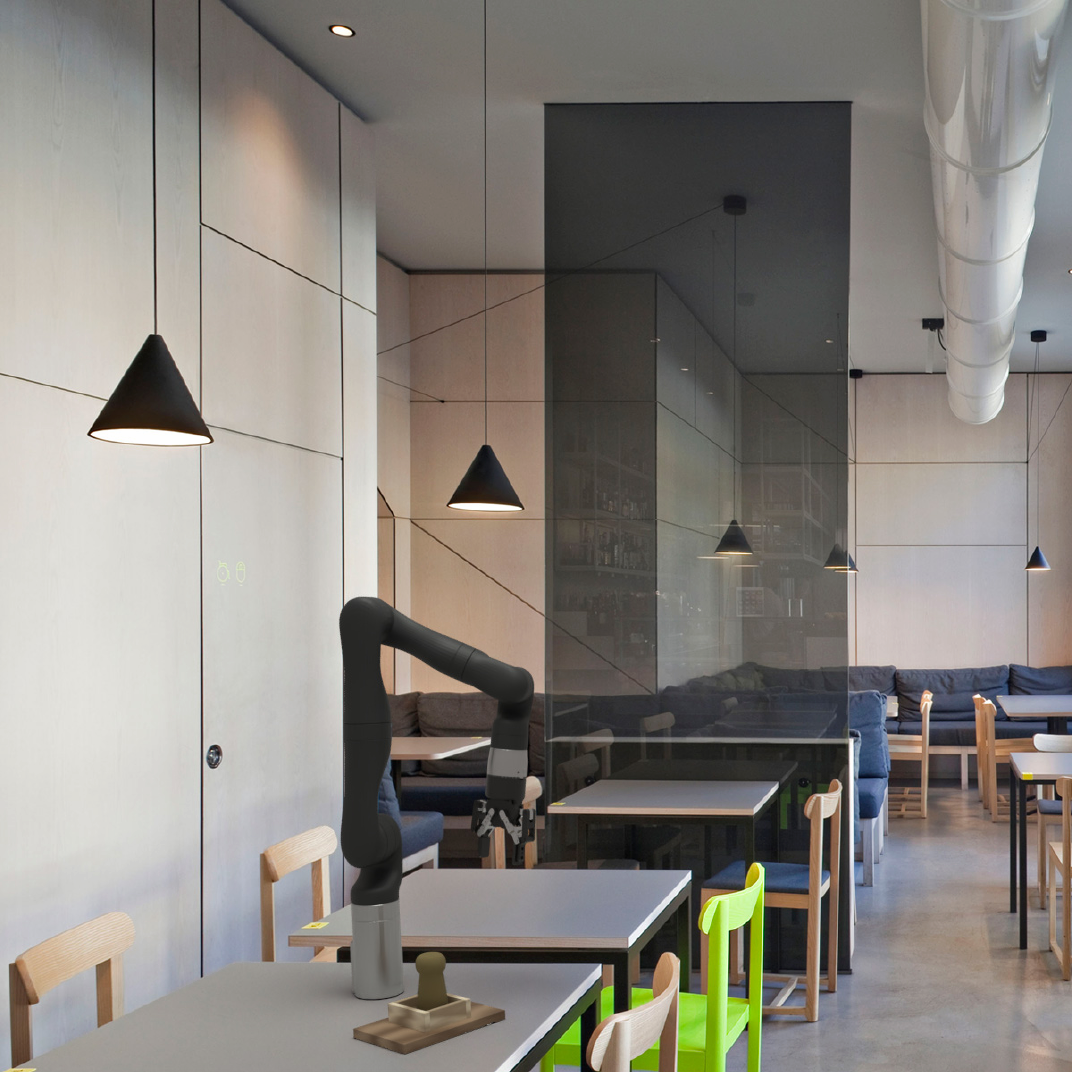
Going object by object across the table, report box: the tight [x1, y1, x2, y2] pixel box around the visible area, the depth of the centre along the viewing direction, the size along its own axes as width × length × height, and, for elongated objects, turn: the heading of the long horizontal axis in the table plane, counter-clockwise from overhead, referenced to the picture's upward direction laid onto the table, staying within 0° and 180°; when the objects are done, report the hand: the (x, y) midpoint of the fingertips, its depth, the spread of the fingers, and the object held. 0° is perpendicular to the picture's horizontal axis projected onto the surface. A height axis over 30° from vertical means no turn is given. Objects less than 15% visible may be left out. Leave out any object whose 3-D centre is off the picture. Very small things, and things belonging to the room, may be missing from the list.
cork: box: [414, 951, 449, 1011], centre depth 210 cm, size 6×6×11 cm
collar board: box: [352, 992, 506, 1055], centre depth 210 cm, size 14×22×4 cm, turn 134°
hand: (500, 860), depth 228 cm, fingers open, 8 cm apart
